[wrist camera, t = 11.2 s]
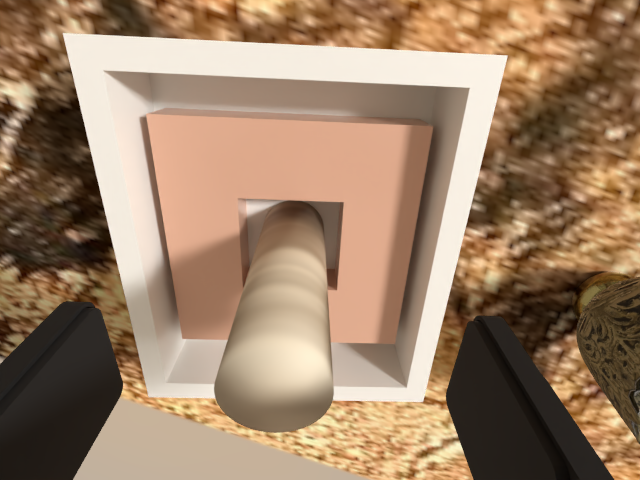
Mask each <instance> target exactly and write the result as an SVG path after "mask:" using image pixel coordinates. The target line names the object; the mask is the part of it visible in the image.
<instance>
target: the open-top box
mask: <svg viewBox="0 0 640 480" xmlns="http://www.w3.org/2000/svg"><path fill="white" fill-rule="evenodd" d="M63 36H64V40H65V44H66V49H67V53H68V57H69V61H70V66H71V70H72V74H73V78H74V83H75V87H76V91H77V95H78V100H79V104H80V108H81V112H82V116H83V121H84V125H85V129H86V133H87V138H88V142H89V146H90V150H91V155H92V159H93V163H94V167H95V171H96V176H97V180H98V184H99V188H100V193H101V197H102V201H103V205H104V210H105V214H106V218H107V222H108V226H109V231H110V235H111V239H112V243H113V248H114V252H115V256H116V260H117V265H118V269H119V273H120V277H121V282H122V286H123V290H124V294H125V298H126V303H127V307H128V311H129V315H130V320H131V324H132V328H133V332H134V337H135V341H136V345H137V349H138V353H139V358H140V362H141V366H142V370H143V375H144V379H145V383H146V387H147V392H148V396H149V397H172V398H215V393H214V384H215V379H216V376H217V373H218V370H219V366H220V363H221V360H222V357H223V353H224V350H225V347H226V344H227V341H228V340H204V339H182V334H181V328H180V321H179V315H178V309H177V303H176V297H175V290H174V284H173V278H172V272H171V266H170V259H169V253H168V247H167V241H166V235H165V228H164V222H163V216H162V210H161V204H160V197H159V191H158V185H157V179H156V173H155V166H154V160H153V154H152V148H151V142H150V135H149V129H148V123H147V117H146V114H147V113H150V112H154V111H157V110H160V109H163V108H182V109H204V110H227V111H250V112H272V113H295V114H317V115H340V116H363V117H385V118H408V119H421V120H423V121H424V122H426V123H428V124H430V125H432V126H433V132H432V138H431V143H430V149H429V154H428V160H427V166H426V171H425V177H424V183H423V188H422V194H421V200H420V205H419V211H418V217H417V222H416V228H415V234H414V239H413V245H412V250H411V256H410V262H409V267H408V273H407V279H406V284H405V290H404V296H403V301H402V307H401V313H400V318H399V324H398V330H397V335H396V341H395V344H377V343H334V342H331V353H332V370H333V386H334V396H333V400H342V401H399V402H423V400H424V396H425V391H426V387H427V383H428V379H429V375H430V371H431V367H432V363H433V359H434V355H435V351H436V346H437V342H438V338H439V334H440V330H441V326H442V322H443V318H444V314H445V310H446V306H447V301H448V297H449V293H450V289H451V285H452V281H453V277H454V273H455V269H456V265H457V261H458V256H459V252H460V248H461V244H462V240H463V236H464V232H465V228H466V224H467V220H468V216H469V211H470V207H471V203H472V199H473V195H474V191H475V187H476V183H477V179H478V175H479V171H480V167H481V162H482V158H483V154H484V150H485V146H486V142H487V138H488V134H489V130H490V126H491V122H492V117H493V113H494V109H495V105H496V101H497V97H498V93H499V89H500V85H501V81H502V77H503V72H504V68H505V64H506V60H507V56H506V55H486V54H466V53H446V52H427V51H407V50H387V49H367V48H348V47H328V46H308V45H288V44H268V43H249V42H229V41H209V40H189V39H170V38H150V37H130V36H110V35H91V34H71V33H63ZM284 201H288V200H269V199H246V205H247V225H248V245H249V266H251V263H252V259H253V256H254V253H255V250H256V246H257V243H258V240H259V237H260V233H261V230H262V227H263V224H264V220H265V218H266V215H267V214H268V212H269V211H270V210H271V209H272V208H273V207H274V206H275V205H277V204H279V203H281V202H284ZM303 202H305V203H308V204H310V205H311V206H313V207H314V208H315V209H316V210H317V211H318V212H319V214H320V216H321V218H322V220H323V224H324V238H325V255H326V269H335V260H336V247H337V233H338V219H339V205H340V202H324V201H303Z"/></svg>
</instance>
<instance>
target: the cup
mask: <svg viewBox="0 0 640 480" xmlns="http://www.w3.org/2000/svg"><path fill="white" fill-rule="evenodd" d="M572 309H573V312H574V315H575V317H576V318H577V320H578V324H577V343H578V347H579V350H580V353H581V356H582V358H583V360H584V362H585V364H586V365H587V367H588V369H589V370H590V372H591V374H592V375H593V377H594V379H595V380H596V382H597V383H598V385H599V386H600V387H601V389H602V390H603V392H604V393H605V395H606V396H607V398H608V399H609V401H610V402H611V403H612V405H613V406H614V408H615V409H616V411H617V412H618V413H619V415H620V416H621V418H622V419H623V420H624V422H625V423H626V425H627V426H628V427H629V429H630V430H631V432H632V433H633V434H634V436H635V437H636V439H637V441H638V443H639V444H640V277H636V278H634V277H632V276H630V275H627V274H623V273H618V272H605V273H600V274H597V275H595V276H592V277H590V278H589V279H587V280H586V281H584V282H583V283H582V284H581V285H580V286H579V287H578V288H577V290H576V291H575V293H574V295H573V298H572Z"/></svg>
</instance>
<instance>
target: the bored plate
mask: <svg viewBox="0 0 640 480" xmlns="http://www.w3.org/2000/svg"><path fill="white" fill-rule="evenodd" d="M146 117H147V123H148V129H149V135H150V142H151V148H152V154H153V160H154V166H155V173H156V179H157V185H158V191H159V197H160V204H161V210H162V216H163V222H164V228H165V235H166V241H167V247H168V253H169V259H170V266H171V272H172V278H173V284H174V290H175V297H176V303H177V309H178V315H179V321H180V328H181V334H182V339H204V340H228V337H229V334H230V331H231V328H232V324H233V321H234V318H235V315H236V311H237V308H238V305H239V302H240V298H241V295H242V292H243V289H244V285H245V282H246V279H247V276H248V272H249V269H250V266H249V245H248V225H247V205H246V199H269V200H297V201H324V202H340V205H339V219H338V233H337V247H336V260H335V269H326V271H327V288H328V304H329V320H330V337H331V342H334V343H377V344H395V341H396V335H397V330H398V324H399V318H400V313H401V307H402V301H403V296H404V290H405V284H406V279H407V273H408V267H409V262H410V256H411V250H412V245H413V239H414V234H415V228H416V222H417V217H418V211H419V205H420V200H421V194H422V188H423V183H424V177H425V171H426V166H427V160H428V154H429V149H430V143H431V138H432V132H433V126H432V125H430V124H428V123H426V122H424V121H423V120H421V119H408V118H385V117H363V116H340V115H317V114H295V113H272V112H250V111H227V110H204V109H182V108H163V109H160V110H157V111H154V112H150V113H147V114H146Z"/></svg>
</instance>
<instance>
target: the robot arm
mask: <svg viewBox="0 0 640 480" xmlns="http://www.w3.org/2000/svg"><path fill="white" fill-rule="evenodd" d="M122 389H123V381H122V378H121V375H120V371H119V368H118V365H117V362H116V358H115V355H114V352H113V349H112V345H111V342H110V339H109V336H108V332H107V329H106V326H105V323H104V319H103V316H102V313H101V311H100V310H99V309H98V308H95V306H94V305H93V304H92V303H90V302H71V301H66V302H63V303H62V304H60V305H59V306H58V307H57V308H56V309H55V310H54V311H53V312H52V313H51V314H50V315H49V316H48V317H47V318H46V319H45V320H44V321H43V322H42V323H41V324H40V325H39V326H38V327H37V328H36V329H35V330H34V331H33V332H32V333H31V334H30V335H29V336H28V337H27V338H26V339H25V340H24V341H23V342H22V343H21V344H20V345H19V346H18V347H17V348H16V349H15V350H14V351H13V352H12V353H11V354H10V355H9V356H8V357H7V358H6V359H5V360H4V361H3V362H2V363H1V364H0V480H73V478H74V476H75V475H76V473H77V471H78V469H79V468H80V466H81V464H82V462H83V461H84V459H85V457H86V455H87V454H88V452H89V450H90V448H91V446H92V445H93V443H94V441H95V440H96V438H97V436H98V434H99V433H100V431H101V429H102V427H103V426H104V424H105V422H106V420H107V419H108V417H109V415H110V413H111V411H112V410H113V408H114V406H115V405H116V403H117V401H118V399H119V398H120V395H121V393H122ZM446 401H447V406H448V409H449V412H450V415H451V417H452V420H453V423H454V426H455V429H456V431H457V434H458V437H459V440H460V443H461V445H462V448H463V451H464V454H465V457H466V460H467V462H468V465H469V468H470V471H471V474H472V476H473V479H474V480H614V479H613V477H612V476H611V474H610V473H609V471H608V470H607V468H606V467H605V465H604V464H603V462H602V461H601V459H600V458H599V457H598V455H597V454H596V452H595V451H594V449H593V448H592V446H591V445H590V443H589V442H588V440H587V439H586V437H585V436H584V434H583V433H582V432H581V430H580V429H579V427H578V426H577V424H576V423H575V421H574V420H573V418H572V417H571V415H570V414H569V412H568V411H567V409H566V408H565V407H564V405H563V404H562V402H561V401H560V399H559V398H558V396H557V395H556V393H555V392H554V390H553V389H552V387H551V386H550V384H549V383H548V382H547V380H546V379H545V378H544V377H543V375H542V374H541V373H540V372H539V370H538V369H537V367H536V366H535V364H534V363H533V361H532V360H531V358H530V357H529V355H528V354H527V352H526V351H525V349H524V348H523V346H522V345H521V343H520V342H519V340H518V339H517V337H516V336H515V335H514V333H513V332H512V330H511V329H510V327H509V326H508V324H507V323H506V321H505V320H504V319H503V318H502V317H500V316H476V317H475V319H474V321H469V322H468V324H467V327H466V330H465V333H464V336H463V340H462V343H461V346H460V349H459V353H458V356H457V359H456V362H455V366H454V369H453V372H452V375H451V379H450V382H449V385H448V388H447V392H446Z"/></svg>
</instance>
